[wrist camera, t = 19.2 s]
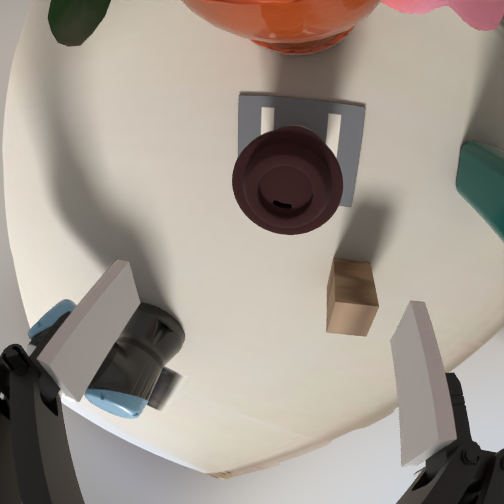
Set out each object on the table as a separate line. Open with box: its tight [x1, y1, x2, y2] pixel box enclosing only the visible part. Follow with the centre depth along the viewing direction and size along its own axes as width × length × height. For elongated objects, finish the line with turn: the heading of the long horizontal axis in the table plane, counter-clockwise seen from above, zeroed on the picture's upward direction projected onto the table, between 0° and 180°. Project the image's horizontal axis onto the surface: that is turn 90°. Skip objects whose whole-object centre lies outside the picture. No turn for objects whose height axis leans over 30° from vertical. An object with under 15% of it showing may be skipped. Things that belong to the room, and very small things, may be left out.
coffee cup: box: [232, 125, 343, 235], centre depth 30 cm, size 10×10×15 cm
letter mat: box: [238, 95, 366, 207], centre depth 36 cm, size 16×14×1 cm
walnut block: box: [326, 258, 379, 336], centre depth 41 cm, size 6×6×10 cm
